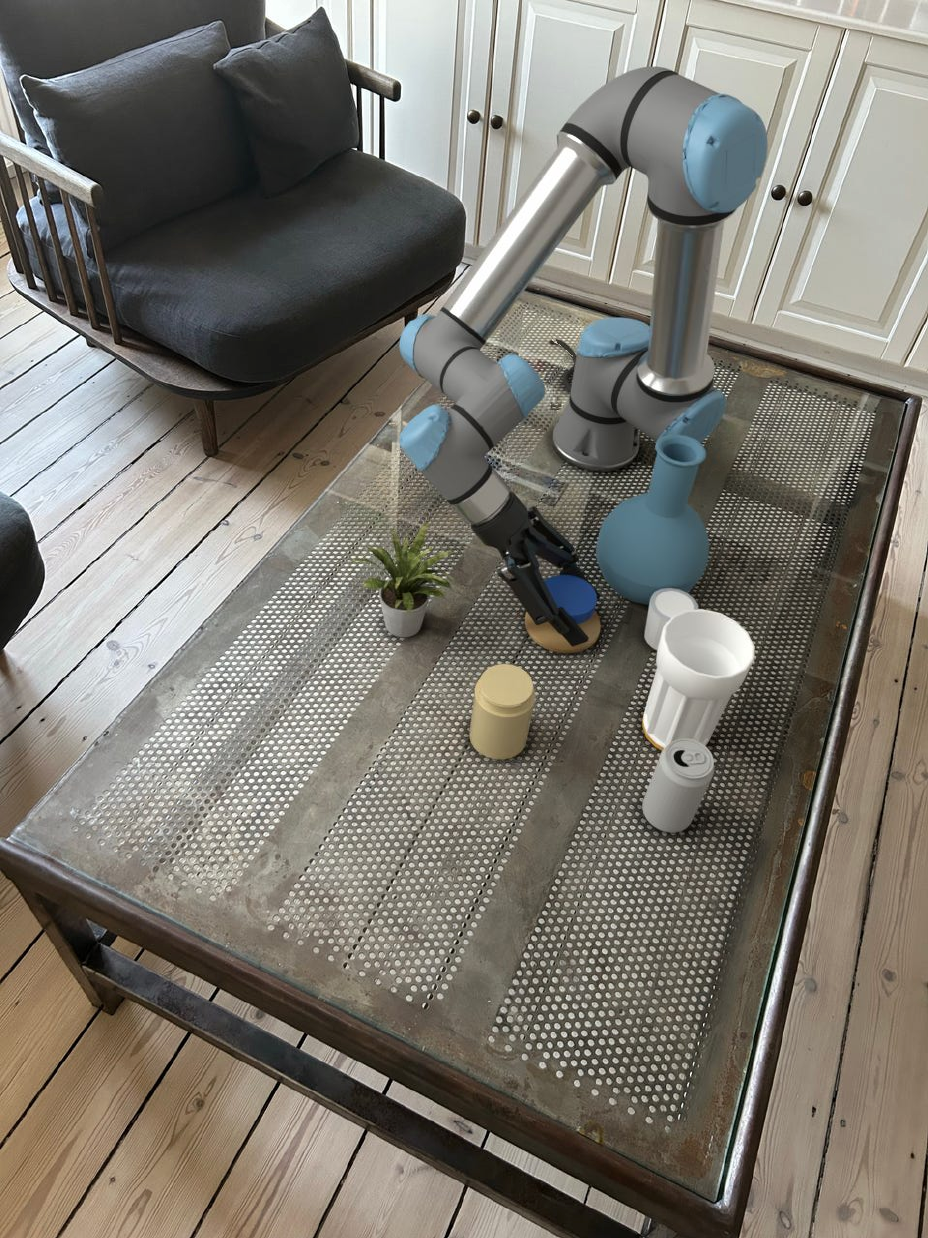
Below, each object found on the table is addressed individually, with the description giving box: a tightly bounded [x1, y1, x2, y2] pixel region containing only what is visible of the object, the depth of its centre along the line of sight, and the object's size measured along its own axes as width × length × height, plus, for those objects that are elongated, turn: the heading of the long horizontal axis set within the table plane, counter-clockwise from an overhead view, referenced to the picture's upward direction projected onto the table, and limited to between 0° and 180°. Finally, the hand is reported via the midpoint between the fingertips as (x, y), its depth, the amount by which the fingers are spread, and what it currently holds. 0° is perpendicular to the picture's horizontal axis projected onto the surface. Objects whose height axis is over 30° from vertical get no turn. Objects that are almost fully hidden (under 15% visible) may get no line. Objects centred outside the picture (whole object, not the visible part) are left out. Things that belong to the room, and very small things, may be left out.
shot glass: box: [644, 588, 699, 651], centre depth 140 cm, size 7×7×7 cm
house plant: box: [345, 520, 459, 638], centre depth 134 cm, size 14×14×16 cm
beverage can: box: [641, 738, 715, 833], centre depth 118 cm, size 6×6×12 cm
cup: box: [641, 608, 756, 752], centre depth 125 cm, size 11×11×17 cm
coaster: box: [524, 609, 602, 654], centre depth 143 cm, size 11×11×1 cm
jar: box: [468, 663, 537, 760], centre depth 125 cm, size 8×8×11 cm
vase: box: [595, 434, 710, 606], centre depth 142 cm, size 16×16×25 cm
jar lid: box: [544, 574, 598, 624], centre depth 139 cm, size 8×8×2 cm
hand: (586, 620), depth 141 cm, fingers closed on jar lid, 8 cm apart
